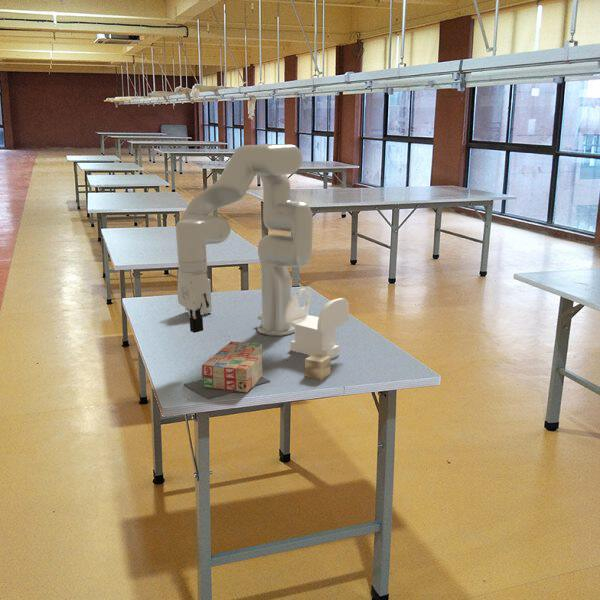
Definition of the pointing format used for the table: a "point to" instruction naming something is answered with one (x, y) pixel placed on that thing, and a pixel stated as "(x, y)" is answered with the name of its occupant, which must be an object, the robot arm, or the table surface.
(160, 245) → the table surface
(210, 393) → the rubber mat
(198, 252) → the robot arm
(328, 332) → the white plastic bracket
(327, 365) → the beech block
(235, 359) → the stack of blocks
